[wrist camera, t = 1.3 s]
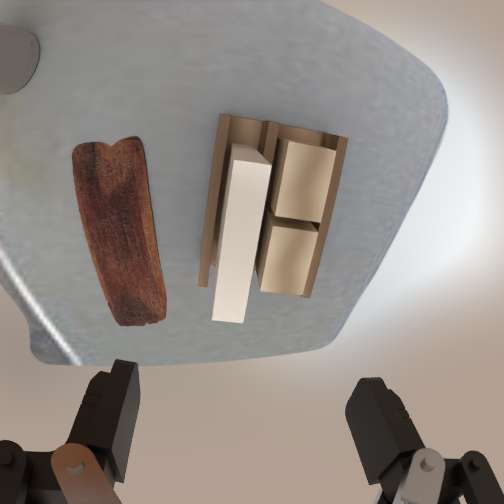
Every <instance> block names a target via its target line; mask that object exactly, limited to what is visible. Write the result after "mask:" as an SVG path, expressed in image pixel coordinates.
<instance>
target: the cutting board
mask: <svg viewBox="0 0 504 504" xmlns="http://www.w3.org/2000/svg"><path fill="white" fill-rule="evenodd" d="M271 167H272V165H271V164H270V163H269V162H268V161H267V160H266V159H265V158H264V157H263V156H262V155H261V154H260V153H259V152H258V151H257V150H256V149H255V148H254V147H253V146H249V145H242V144H235V143H232V144H231V150H230V157H229V163H228V170H227V176H226V183H225V190H224V197H223V204H222V211H221V218H220V226H219V233H218V241H217V252H216V266H215V281H214V296H213V312H212V320H217V321H226V322H236V323H243V321H244V316H245V310H246V305H247V299H248V294H249V289H250V283H251V278H252V272H253V267H254V261H255V256H256V250H257V245H258V239H259V234H260V228H261V223H262V217H263V212H264V206H265V201H266V195H267V189H268V184H269V178H270V173H271Z"/></svg>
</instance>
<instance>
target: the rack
mask: <svg viewBox="0 0 504 504" xmlns="http://www.w3.org/2000/svg"><path fill="white" fill-rule="evenodd" d="M277 137H280V138H286V139H291V140H296V141H301V142H306V143H311V144H315V145H319V146H322V147H325V148H328V149H332V150H335V151H336V156H335V161H334V165H333V170H332V175H331V179H330V184H329V189H328V193H327V198H326V202H325V206H324V211H323V215H322V219H321V223H319V222H313V221H310V222H311V224H312V225H313V226H314V227H315V229H316V230H317V231H318V236H317V240H316V244H315V248H314V252H313V256H312V260H311V264H310V268H309V272H308V276H307V280H306V283H305V287H304V291H303V295H301V297H305V298H310V296H311V292H312V289H313V285H314V281H315V278H316V274H317V270H318V267H319V263H320V259H321V255H322V251H323V248H324V244H325V240H326V236H327V232H328V228H329V224H330V220H331V215H332V211H333V207H334V203H335V198H336V194H337V190H338V185H339V181H340V176H341V172H342V167H343V162H344V157H345V153H346V148H347V143H348V138H346V137H342V136H337V135H332V134H326V133H320V132H316V131H311V130H306V129H302V128H297V127H292V126H286V125H281V124H280V123H276V122H271V121H258V120H252V119H245V118H239V117H232V116H231V115H225V114H220V118H219V124H218V130H217V137H216V143H215V150H214V157H213V164H212V171H211V178H210V186H209V193H208V201H207V209H206V217H205V226H204V234H203V243H202V252H201V261H200V271H199V281H198V286H200V287H207V284H208V275H209V267H210V264H211V265H216V252H217V241H218V233H219V226H220V218H221V211H222V204H223V197H224V190H225V183H226V176H227V170H228V163H229V157H230V150H231V144H232V143H235V144H242V145H249V146H253V147H254V148H255V149H256V150H257V151H258V152H259V153H260V154H261V155H262V156H263V157H264V158H265V159H266V160H267V161H268V162H269V163H270V164H271V165H272V163H273V157H274V152H275V146H276V141H277ZM271 169H272V167H271ZM270 174H271V173H270ZM269 180H270V178H269ZM268 185H269V184H268ZM267 191H268V189H267ZM266 196H267V195H266ZM265 204H266V205H269V203H268V200H267V198H266V201H265ZM264 207H265V206H264ZM263 213H264V212H263ZM262 219H263V217H262ZM261 224H262V223H261ZM260 230H261V228H260ZM259 235H260V234H259ZM258 241H259V239H258ZM257 246H258V245H257ZM256 252H257V250H256ZM255 257H256V256H255ZM253 269H254V270H256V267H255V261H254V267H253ZM252 273H253V272H252ZM251 279H252V278H251ZM250 284H251V283H250ZM249 290H250V289H249Z"/></svg>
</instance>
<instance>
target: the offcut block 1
mask: <svg viewBox="0 0 504 504" xmlns="http://www.w3.org/2000/svg"><path fill="white" fill-rule="evenodd" d="M335 156H336V151H335V150H332V149H328V148H325V147H322V146H319V145H315V144H311V143H306V142H301V141H296V140H291V139H286V138H280V137H277V141H276V146H275V152H274V157H273V163H272V169H271V174H270V180H269V185H268V191H267V196H266V198H267V200H268V203H269V205H270V207H271V209H272V211H273V213H274V215H275V216H279V217H286V218H293V219H300V220H306V221H313V222H319V223H321V219H322V215H323V211H324V206H325V202H326V198H327V193H328V189H329V184H330V179H331V175H332V170H333V165H334V161H335Z"/></svg>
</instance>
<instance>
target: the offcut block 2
mask: <svg viewBox="0 0 504 504" xmlns="http://www.w3.org/2000/svg"><path fill="white" fill-rule="evenodd" d="M317 236H318V231H317V230H316V229H315V227H314V226H313V225H312V224H311V222H310V221H306V220H300V219H293V218H286V217H279V216H275V215H274V213H273V211H272V209H271V207H270V205H266V204H265V207H264V213H263V219H262V224H261V230H260V235H259V241H258V246H257V252H256V257H255V267H256V272H257V277H258V283H259V288H260V291H264V292H274V293H284V294H295V295H303V291H304V287H305V283H306V280H307V276H308V272H309V268H310V264H311V260H312V256H313V252H314V248H315V244H316V240H317Z"/></svg>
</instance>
